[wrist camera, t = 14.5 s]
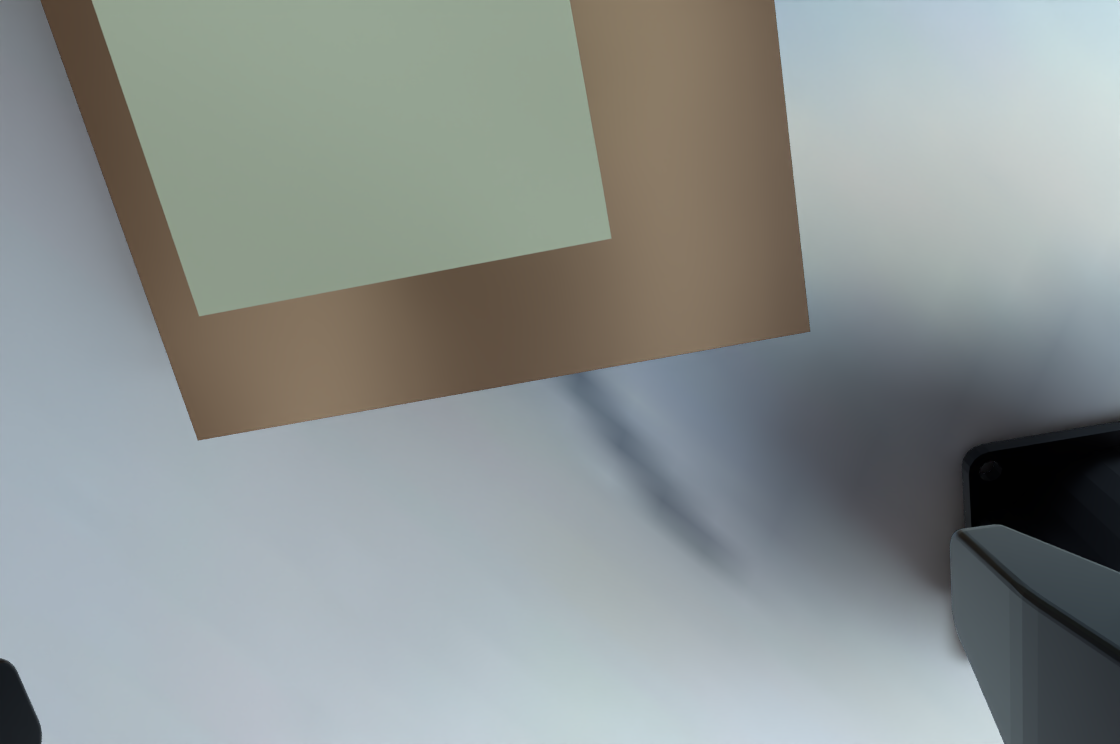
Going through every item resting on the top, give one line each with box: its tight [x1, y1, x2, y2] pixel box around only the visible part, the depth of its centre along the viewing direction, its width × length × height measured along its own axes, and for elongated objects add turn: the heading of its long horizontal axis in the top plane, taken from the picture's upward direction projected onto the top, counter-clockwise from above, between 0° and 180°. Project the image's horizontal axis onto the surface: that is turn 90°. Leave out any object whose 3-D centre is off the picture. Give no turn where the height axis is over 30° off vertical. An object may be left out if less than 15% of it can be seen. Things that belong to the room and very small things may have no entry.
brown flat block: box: [41, 0, 810, 440], centre depth 18 cm, size 12×12×4 cm
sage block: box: [92, 0, 612, 316], centre depth 13 cm, size 5×5×6 cm
